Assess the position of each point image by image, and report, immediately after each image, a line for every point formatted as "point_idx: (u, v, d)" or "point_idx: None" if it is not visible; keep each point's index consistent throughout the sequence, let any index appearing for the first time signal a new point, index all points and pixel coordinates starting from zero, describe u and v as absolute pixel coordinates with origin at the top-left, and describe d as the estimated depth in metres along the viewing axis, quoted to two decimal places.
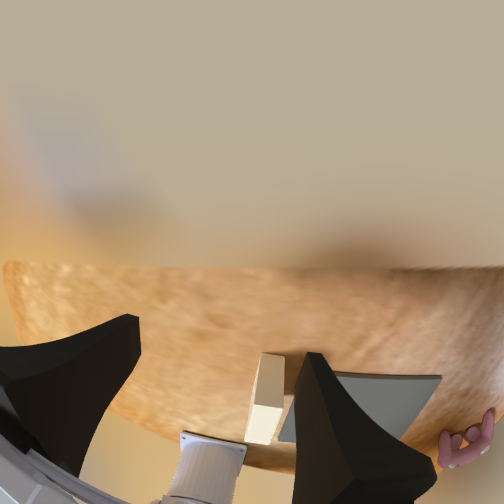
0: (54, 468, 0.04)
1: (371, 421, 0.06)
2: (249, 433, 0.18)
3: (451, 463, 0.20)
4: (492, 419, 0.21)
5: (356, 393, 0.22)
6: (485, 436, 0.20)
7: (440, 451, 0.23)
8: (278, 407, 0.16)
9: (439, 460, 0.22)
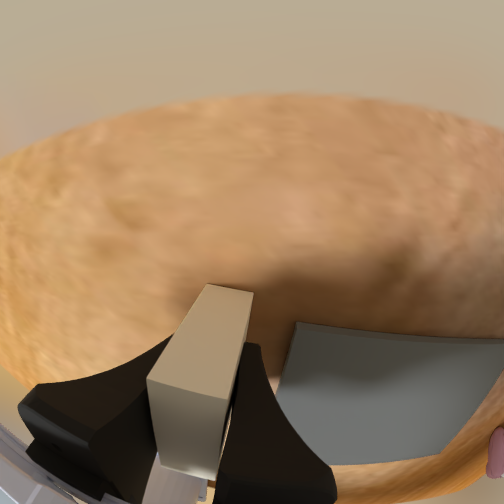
0: None
1: (281, 416, 0.06)
2: (164, 452, 0.07)
3: None
4: None
5: (395, 373, 0.11)
6: None
7: (491, 457, 0.12)
8: (213, 395, 0.06)
9: (489, 469, 0.11)
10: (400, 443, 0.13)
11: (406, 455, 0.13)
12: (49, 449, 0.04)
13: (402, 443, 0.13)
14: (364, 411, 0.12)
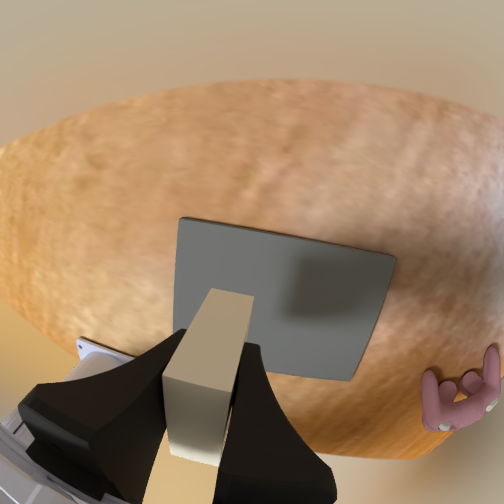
0: None
1: (281, 416, 0.06)
2: (174, 440, 0.08)
3: (442, 422, 0.16)
4: (497, 357, 0.17)
5: (256, 261, 0.18)
6: (490, 384, 0.17)
7: (424, 404, 0.19)
8: (219, 388, 0.07)
9: (424, 418, 0.18)
10: (293, 350, 0.20)
11: (308, 370, 0.20)
12: (49, 449, 0.04)
13: (295, 350, 0.20)
14: None
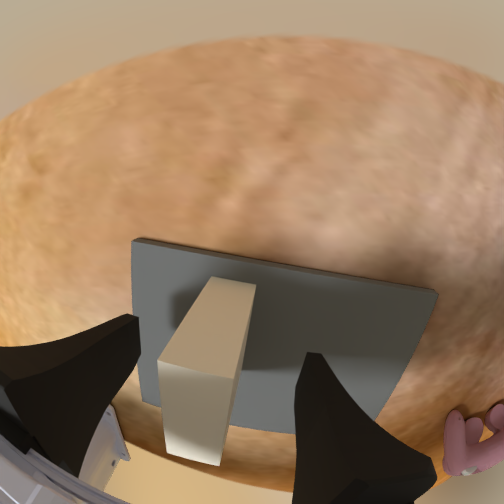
0: (54, 468, 0.04)
1: (371, 421, 0.06)
2: (170, 437, 0.08)
3: (467, 467, 0.10)
4: None
5: None
6: None
7: (447, 448, 0.13)
8: (220, 374, 0.06)
9: (445, 463, 0.12)
10: None
11: None
12: None
13: None
14: None
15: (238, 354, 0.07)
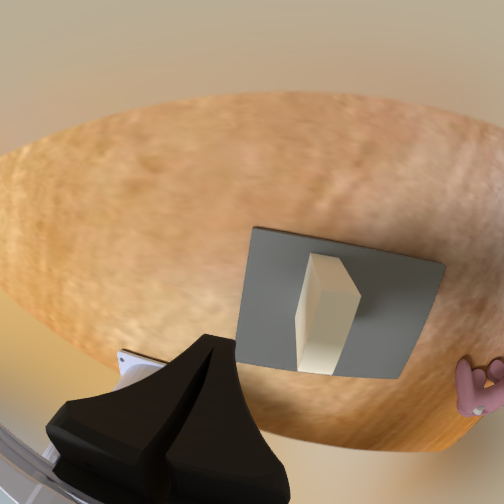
0: None
1: (243, 410, 0.06)
2: (307, 353, 0.14)
3: (477, 406, 0.16)
4: None
5: None
6: None
7: (459, 391, 0.19)
8: (354, 294, 0.12)
9: (459, 404, 0.18)
10: (353, 352, 0.20)
11: (363, 371, 0.21)
12: (79, 467, 0.04)
13: (354, 352, 0.20)
14: None
15: (355, 287, 0.13)
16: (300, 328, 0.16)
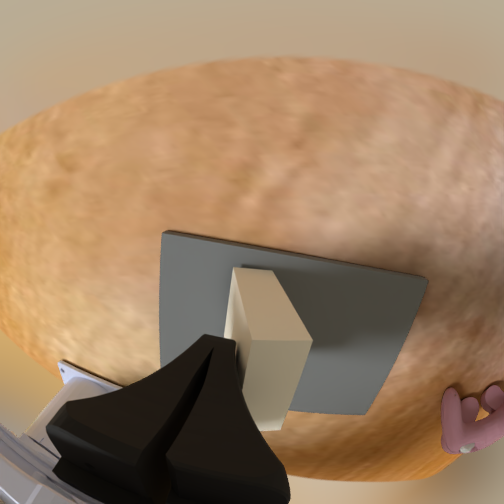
0: None
1: (244, 411, 0.06)
2: None
3: (464, 444, 0.12)
4: None
5: None
6: None
7: (444, 425, 0.15)
8: (303, 339, 0.09)
9: (444, 440, 0.14)
10: (302, 386, 0.16)
11: (318, 406, 0.17)
12: (79, 467, 0.04)
13: (304, 386, 0.16)
14: None
15: (302, 323, 0.10)
16: None
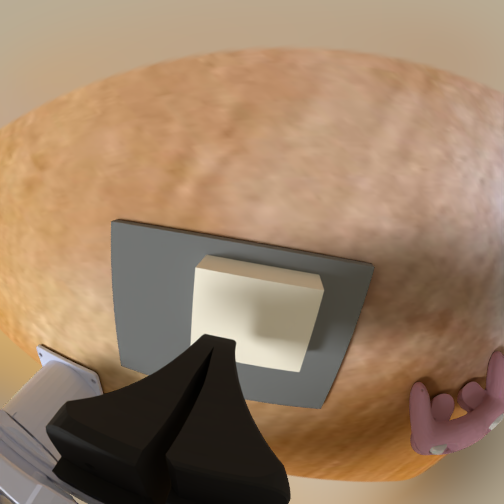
0: None
1: (244, 411, 0.06)
2: (305, 350, 0.14)
3: (434, 445, 0.13)
4: (503, 365, 0.13)
5: None
6: (494, 397, 0.13)
7: (412, 422, 0.15)
8: (319, 276, 0.14)
9: (413, 439, 0.15)
10: (248, 373, 0.17)
11: (268, 396, 0.17)
12: (79, 467, 0.04)
13: (251, 373, 0.17)
14: (183, 313, 0.16)
15: (299, 271, 0.14)
16: (251, 348, 0.14)
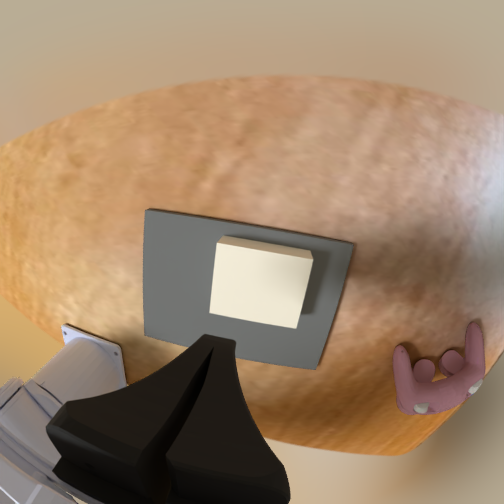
0: None
1: (243, 410, 0.06)
2: (300, 310, 0.18)
3: (417, 402, 0.17)
4: (479, 334, 0.18)
5: (214, 248, 0.19)
6: (472, 363, 0.17)
7: (396, 382, 0.19)
8: (310, 251, 0.18)
9: (398, 399, 0.19)
10: (255, 335, 0.21)
11: (271, 357, 0.22)
12: (79, 467, 0.04)
13: (256, 335, 0.21)
14: (202, 283, 0.20)
15: (295, 248, 0.19)
16: (258, 307, 0.18)
